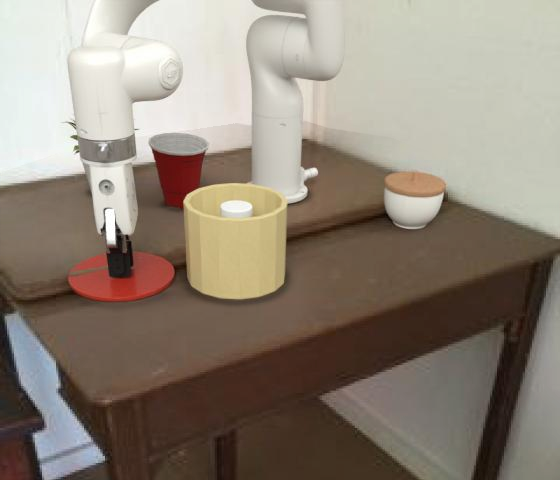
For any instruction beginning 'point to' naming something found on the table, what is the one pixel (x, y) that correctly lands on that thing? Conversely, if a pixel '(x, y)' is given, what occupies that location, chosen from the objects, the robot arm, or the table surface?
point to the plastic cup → (178, 164)
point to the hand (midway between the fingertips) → (121, 270)
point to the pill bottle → (236, 209)
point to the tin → (235, 241)
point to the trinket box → (413, 198)
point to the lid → (123, 278)
